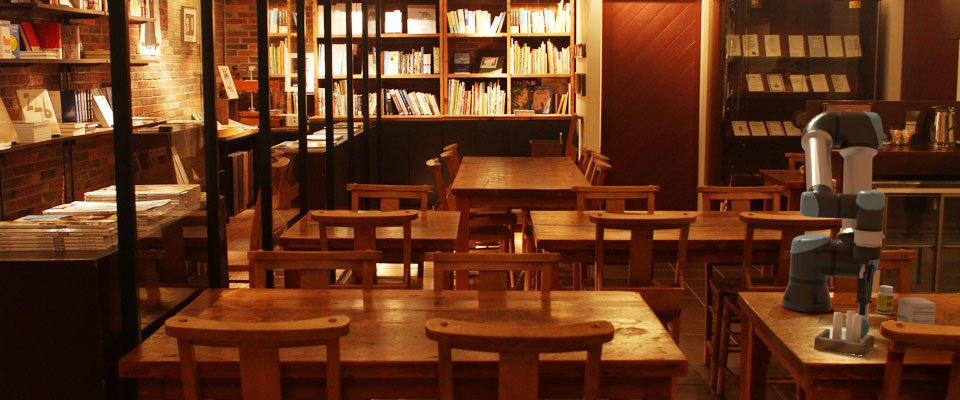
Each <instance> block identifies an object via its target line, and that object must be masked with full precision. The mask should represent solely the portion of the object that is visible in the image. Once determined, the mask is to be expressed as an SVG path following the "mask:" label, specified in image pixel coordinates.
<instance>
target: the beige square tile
mask: <svg viewBox="0 0 960 400" xmlns="http://www.w3.org/2000/svg"><path fill="white" fill-rule="evenodd" d="M845 335H846V330H842V337H841V340H843V341H845ZM870 336H875V338H874V341H875V340H876V339H878V337H879V336H878V335H873V334H868V333H867V334H866V335H865V336H864V337H861V338H860V343H863V342H864V341H865V340H867V339H868V338H869V337H870Z"/></svg>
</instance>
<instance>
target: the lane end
mask: <svg viewBox="0 0 960 400" xmlns="http://www.w3.org/2000/svg"><path fill="white" fill-rule="evenodd" d="M830 334H831V329H830V328H826V329H824V330H823V331H822V332H820V333H819V334H818V335H816V336H815V337H814V341H813V344H814V345H813V349H816V350H821V351H826V352H827V351H828V352H832V353H833V352H834V353H838V354H839V353H840V354H844V353H846V354H845V355H850V354H855V355H854V356H856V355H862V356H864V355H865V354H866V353H867V352H868V351H869V350H870V349H871V348H872V349H873V348H874V347H875V340H874V338H875V336H876V335H874V336H870V337H869V338H868V339H867V340H865V341H864V342H863V343H856V342H850V341H845V340H837V339H832V337H830V336H831V335H830ZM872 349H871V350H872ZM871 350H870V351H871ZM870 351H869V352H870ZM869 352H868V353H869ZM868 353H867V354H868ZM867 354H866V355H867ZM866 355H865V356H866ZM862 356H861V357H862ZM865 356H864V357H865Z"/></svg>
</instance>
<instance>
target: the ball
mask: <svg viewBox="0 0 960 400" xmlns="http://www.w3.org/2000/svg"><path fill="white" fill-rule="evenodd" d="M869 331H870V324H869V321H868V322H867V321H866V320H865V319H864V318H862V323H861V337H864V336H865V335H866V334H868V333H869ZM861 337H860V338H861Z"/></svg>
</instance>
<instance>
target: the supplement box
mask: <svg viewBox="0 0 960 400" xmlns="http://www.w3.org/2000/svg"><path fill="white" fill-rule="evenodd" d="M936 307H937V304H936V303H935V302H933V301H932V300H928V299H926V298H925V297H921V296H920V297H917V296H913V297H912V296H910V297H909V296H908V297H903V296H902V297H898V307H897V316H896V317H897V319H896V322H897V321H903V322H911V323H921V324H929V325H934V326H935V320H936V319H935V318H936Z"/></svg>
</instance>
